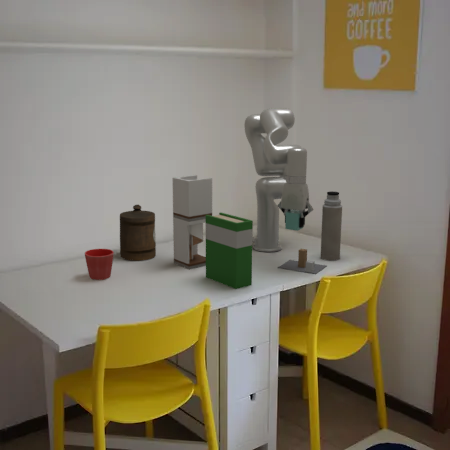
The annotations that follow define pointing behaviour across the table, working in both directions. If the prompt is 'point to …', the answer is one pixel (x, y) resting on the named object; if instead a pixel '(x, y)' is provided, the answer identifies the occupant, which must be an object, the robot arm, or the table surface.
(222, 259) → the hardback book
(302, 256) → the post stand
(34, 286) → the table surface
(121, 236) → the wooden container
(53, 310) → the table surface
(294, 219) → the teal rectangular block
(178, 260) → the white coffee maker
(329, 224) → the thermos bottle
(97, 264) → the flower pot
